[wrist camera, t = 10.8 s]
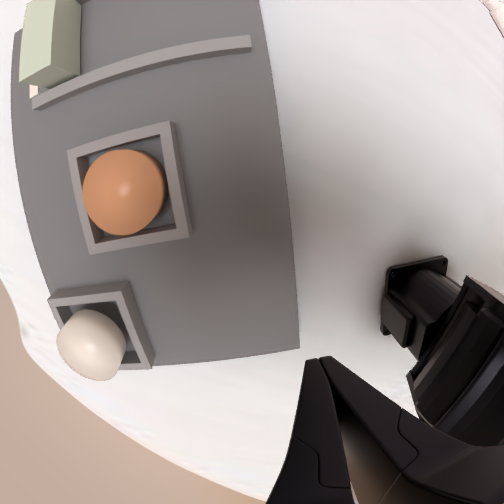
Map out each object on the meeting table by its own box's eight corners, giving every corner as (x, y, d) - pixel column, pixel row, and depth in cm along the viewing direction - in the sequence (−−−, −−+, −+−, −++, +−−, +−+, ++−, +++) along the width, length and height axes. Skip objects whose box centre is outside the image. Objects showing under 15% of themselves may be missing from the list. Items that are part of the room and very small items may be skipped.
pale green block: (81, 5, 11) (57, -15, 7) (80, 76, 13) (50, 64, 9) (53, 19, 11) (26, 4, 7) (50, 89, 13) (18, 82, 9)
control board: (247, -30, 13) (250, -56, 9) (294, 332, 22) (304, 361, 19) (27, 38, 12) (4, 29, 9) (92, 353, 22) (79, 378, 19)
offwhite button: (112, 306, 16) (101, 323, 14) (135, 362, 18) (128, 381, 16) (59, 311, 16) (46, 326, 14) (84, 362, 18) (74, 379, 16)
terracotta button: (161, 141, 15) (152, 140, 13) (174, 218, 16) (167, 227, 15) (91, 159, 15) (75, 161, 13) (106, 231, 16) (93, 241, 14)
